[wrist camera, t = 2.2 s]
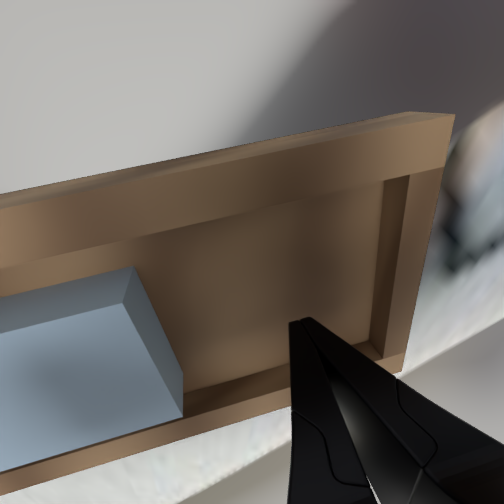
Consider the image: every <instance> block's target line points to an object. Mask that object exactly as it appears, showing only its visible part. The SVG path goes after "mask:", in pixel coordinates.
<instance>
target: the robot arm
mask: <svg viewBox="0 0 504 504" xmlns="http://www.w3.org/2000/svg"><path fill="white" fill-rule="evenodd" d="M288 334H289V362H290V390H291V421H292V447H291V463H290V474H289V485H288V496H287V504H378V503H377V501H376V499H375V497H374V494H373V492H372V489H371V488H370V484H369V481H370V483H371V485H372V487H373V489H374V491H375V493H376V495H377V497H378V499H379V501H380V502H381V504H504V444H502V443H500V442H499V441H497V440H495V439H494V438H492V437H490V436H488V435H487V434H485V433H483V432H482V431H480V430H478V429H477V428H475V427H473V426H471V425H470V424H468V423H467V422H465V421H463V420H462V419H460V418H458V417H457V416H455V415H453V414H451V413H450V412H448V411H446V410H445V409H443V408H441V407H440V406H438V405H437V404H435V403H433V402H432V401H430V400H429V399H427V398H425V397H424V396H423V395H421V394H420V393H418V392H416V391H415V390H414V389H412V388H411V387H409V386H408V385H407V384H405V383H404V382H402V381H401V380H400V379H396V377H395V376H394V375H392V374H391V373H390V372H388V371H387V370H385V369H384V368H383V367H381V366H380V365H378V364H377V363H375V362H374V361H373V360H371V359H370V358H368V357H367V356H366V355H364V354H363V353H361V352H360V351H359V350H357V349H356V348H354V347H353V346H352V345H350V344H349V343H347V342H346V341H345V340H343V339H342V338H340V337H339V336H337V335H336V334H335V333H333V332H332V331H330V330H329V329H328V328H326V327H325V326H323V325H322V324H321V323H319V322H318V321H316V320H315V319H314V318H312V317H305V318H302V319H300V321H299V320H294V321H291V322H289V323H288ZM367 477H368V479H369V481H368V479H367Z"/></svg>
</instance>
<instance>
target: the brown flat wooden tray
mask: <svg viewBox="0 0 504 504" xmlns="http://www.w3.org/2000/svg"><path fill="white" fill-rule="evenodd" d="M454 119H455V114H443V113H427V112H409V111H407V112H402V113H397V114H392V115H387V116H382V117H377V118H372V119H367V120H363V121H358V122H353V123H348V124H343V125H338V126H333V127H328V128H323V129H318V130H314V131H309V132H303V133H299V134H294V135H289V136H284V137H279V138H274V139H269V140H264V141H259V142H254V143H249V144H244V145H240V146H235V147H230V148H225V149H220V150H215V151H210V152H205V153H200V154H195V155H190V156H186V157H181V158H176V159H171V160H166V161H161V162H156V163H152V164H146V165H141V166H136V167H132V168H127V169H122V170H117V171H112V172H107V173H102V174H98V175H92V176H87V177H82V178H78V179H73V180H67V181H63V182H58V183H53V184H48V185H43V186H38V187H33V188H28V189H23V190H19V191H13V192H8V193H4V194H0V298H1V297H5V296H10V295H14V294H18V293H22V292H26V291H30V290H35V289H39V288H43V287H47V286H51V285H55V284H60V283H64V282H68V281H72V280H76V279H80V278H85V277H89V276H93V275H97V274H101V273H105V272H110V271H114V270H118V269H122V268H126V267H130V266H134V267H135V270H136V272H137V274H138V276H139V278H140V280H141V283H142V285H143V287H144V289H145V291H146V293H147V296H148V298H149V300H150V302H151V304H152V307H153V309H154V311H155V313H156V315H157V317H158V320H159V322H160V324H161V326H162V328H163V330H164V333H165V335H166V337H167V339H168V341H169V343H170V346H171V348H172V350H173V352H174V354H175V356H176V359H177V361H178V363H179V365H180V367H181V369H182V372H183V417H180V418H177V419H174V420H170V421H167V422H164V423H161V424H157V425H154V426H151V427H147V428H144V429H141V430H137V431H134V432H131V433H127V434H124V435H121V436H117V437H114V438H111V439H108V440H104V441H101V442H98V443H94V444H91V445H88V446H84V447H81V448H78V449H74V450H71V451H68V452H64V453H61V454H58V455H54V456H51V457H48V458H45V459H41V460H38V461H35V462H31V463H28V464H25V465H21V466H18V467H15V468H11V469H8V470H5V471H1V472H0V496H1V495H4V494H8V493H11V492H14V491H17V490H21V489H24V488H27V487H30V486H33V485H37V484H40V483H43V482H46V481H50V480H53V479H56V478H59V477H62V476H66V475H69V474H72V473H75V472H79V471H82V470H85V469H88V468H91V467H95V466H98V465H101V464H104V463H108V462H111V461H114V460H117V459H121V458H124V457H127V456H130V455H133V454H137V453H140V452H143V451H146V450H150V449H153V448H156V447H159V446H162V445H166V444H169V443H172V442H175V441H179V440H182V439H185V438H188V437H191V436H195V435H198V434H201V433H204V432H208V431H211V430H214V429H217V428H220V427H224V426H227V425H230V424H233V423H237V422H240V421H243V420H246V419H249V418H253V417H256V416H259V415H262V414H266V413H269V412H272V411H275V410H278V409H282V408H285V407H288V406H291V390H290V362H289V334H288V323H289V322H291V321H294V320H299V321H300V319H302V318H305V317H312V318H314V319H315V320H316V321H318V322H319V323H321V324H322V325H323V326H325V327H326V328H328V329H329V330H330V331H332V332H333V333H335V334H336V335H337V336H339V337H340V338H342V339H343V340H345V341H346V342H347V343H349V344H350V345H352V346H353V347H354V348H356V349H357V350H359V351H360V352H361V353H363V354H364V355H366V356H367V357H368V358H370V359H371V360H373V361H374V362H375V363H377V364H378V365H380V366H381V367H383V368H384V369H385V370H387V371H388V372H390V373H391V374H394V373H398V372H401V371H402V367H403V362H404V357H405V352H406V348H407V343H408V338H409V333H410V329H411V324H412V319H413V314H414V309H415V305H416V300H417V295H418V290H419V286H420V281H421V276H422V271H423V267H424V262H425V257H426V252H427V247H428V243H429V238H430V233H431V228H432V224H433V219H434V214H435V209H436V205H437V200H438V195H439V190H440V185H441V181H442V176H443V171H444V166H445V162H446V157H447V152H448V147H449V143H450V138H451V133H452V128H453V123H454Z"/></svg>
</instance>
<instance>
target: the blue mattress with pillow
mask: <svg viewBox="0 0 504 504" xmlns="http://www.w3.org/2000/svg"><path fill="white" fill-rule="evenodd" d="M180 417H183V372H182V369H181V367H180V365H179V363H178V361H177V359H176V356H175V354H174V352H173V350H172V348H171V346H170V343H169V341H168V339H167V337H166V335H165V333H164V330H163V328H162V326H161V324H160V322H159V320H158V317H157V315H156V313H155V311H154V309H153V307H152V304H151V302H150V300H149V298H148V296H147V293H146V291H145V289H144V287H143V285H142V283H141V280H140V278H139V276H138V274H137V272H136V270H135V267H134V266H130V267H126V268H122V269H118V270H114V271H110V272H105V273H101V274H97V275H93V276H89V277H85V278H80V279H76V280H72V281H68V282H64V283H60V284H55V285H51V286H47V287H43V288H39V289H35V290H30V291H26V292H22V293H18V294H14V295H10V296H5V297H1V298H0V472H1V471H5V470H8V469H11V468H15V467H18V466H21V465H25V464H28V463H31V462H35V461H38V460H41V459H45V458H48V457H51V456H54V455H58V454H61V453H64V452H68V451H71V450H74V449H78V448H81V447H84V446H88V445H91V444H94V443H98V442H101V441H104V440H108V439H111V438H114V437H117V436H121V435H124V434H127V433H131V432H134V431H137V430H141V429H144V428H147V427H151V426H154V425H157V424H161V423H164V422H167V421H170V420H174V419H177V418H180Z"/></svg>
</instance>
